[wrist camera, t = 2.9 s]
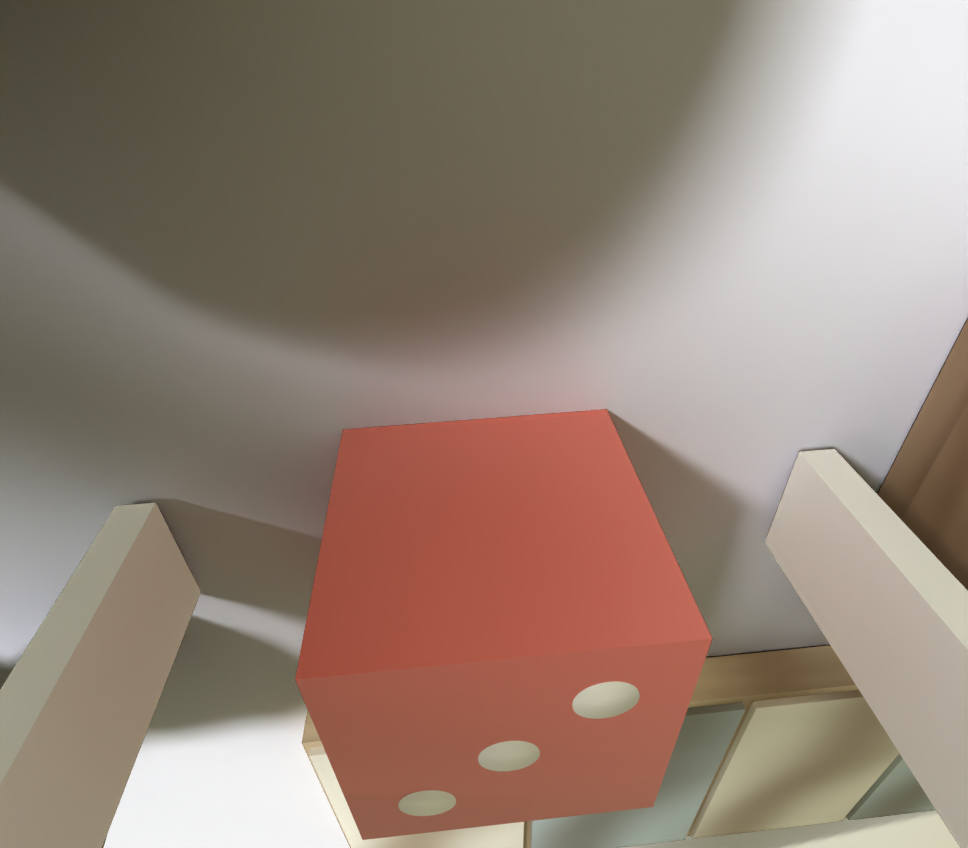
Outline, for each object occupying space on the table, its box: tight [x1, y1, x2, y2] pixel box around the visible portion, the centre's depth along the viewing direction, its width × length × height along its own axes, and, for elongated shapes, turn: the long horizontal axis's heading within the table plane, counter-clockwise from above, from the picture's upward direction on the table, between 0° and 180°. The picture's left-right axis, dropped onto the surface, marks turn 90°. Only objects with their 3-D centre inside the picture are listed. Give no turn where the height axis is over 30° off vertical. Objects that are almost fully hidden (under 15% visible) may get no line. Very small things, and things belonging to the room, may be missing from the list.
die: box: [295, 409, 712, 840], centre depth 10 cm, size 5×5×5 cm
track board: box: [302, 645, 936, 848], centre depth 19 cm, size 24×10×1 cm, turn 92°
